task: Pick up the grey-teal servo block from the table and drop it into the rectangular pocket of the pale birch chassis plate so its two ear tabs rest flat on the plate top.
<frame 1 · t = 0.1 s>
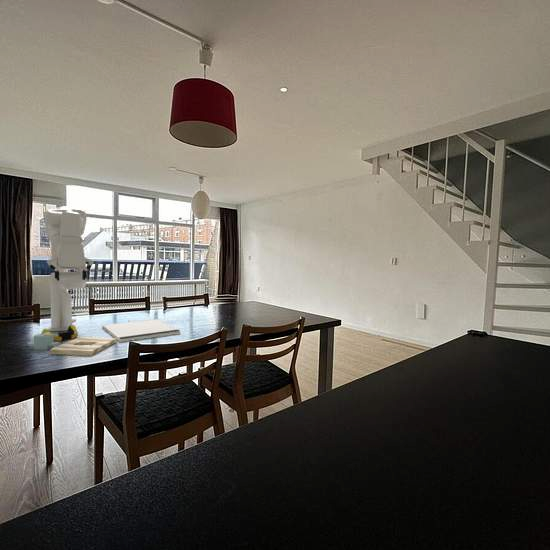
hand: (71, 280, 139), 31 cm above the table, tool pointing down, fingers open, 9 cm apart
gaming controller: (62, 339, 158), on the table
chassis plate: (85, 347, 145), on the table
servo block: (43, 348, 142), on the table
white flat board: (140, 332, 178), on the table
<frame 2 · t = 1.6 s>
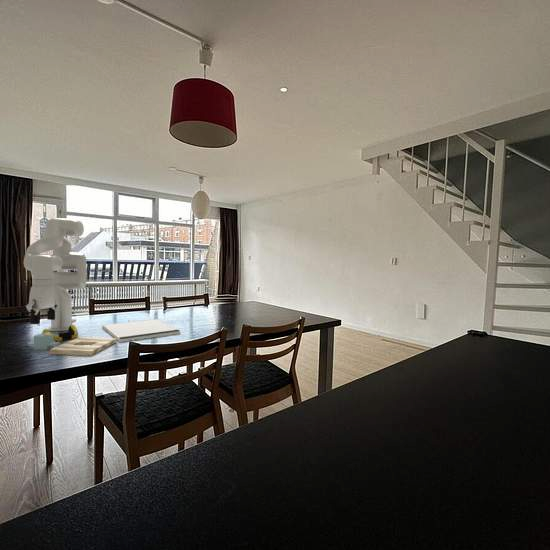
hand: (43, 321, 141), 12 cm above the table, tool pointing down, fingers open, 9 cm apart
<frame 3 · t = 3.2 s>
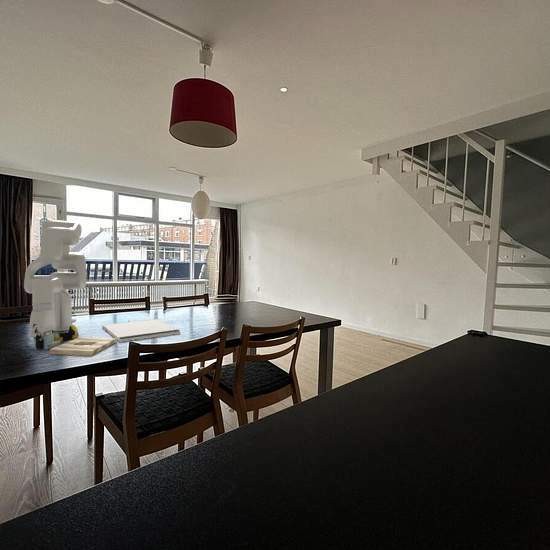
hand: (43, 347, 142), 1 cm above the table, tool pointing down, fingers closed on servo block, 3 cm apart
servo block: (44, 348, 142), on the table, touching gripper
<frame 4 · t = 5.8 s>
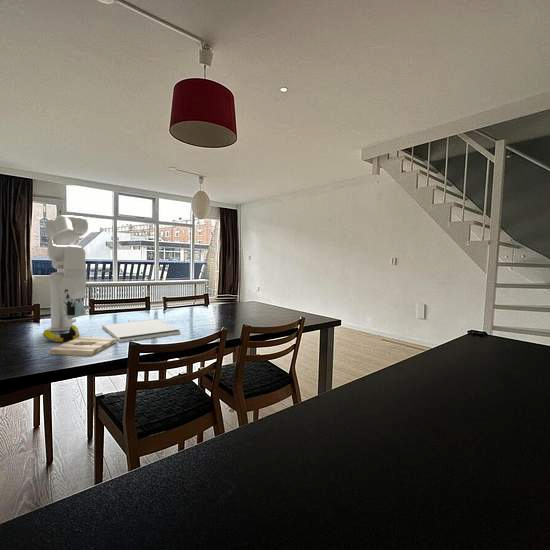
hand: (74, 313, 143), 16 cm above the table, tool pointing down, fingers closed on servo block, 3 cm apart
servo block: (77, 316, 143), point 14 cm above the table, tilted 19°, touching gripper
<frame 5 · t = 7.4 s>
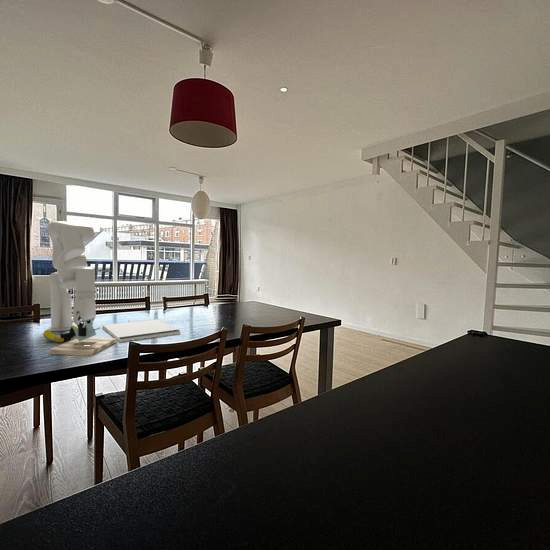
hand: (85, 334, 144), 6 cm above the table, tool pointing down, fingers closed on servo block, 3 cm apart
servo block: (87, 338, 144), point 5 cm above the table, tilted 24°, touching gripper
when the fingers open (3 cm above the table, at t = 8.4 s): servo block drops 2 cm, resting on chassis plate.
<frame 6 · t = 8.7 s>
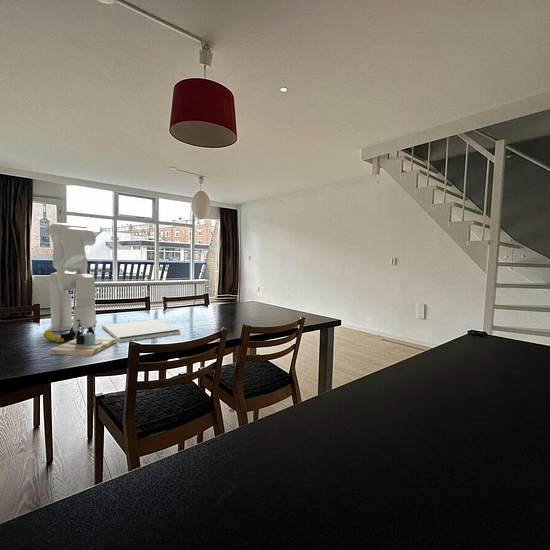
hand: (85, 341, 144), 3 cm above the table, tool pointing down, fingers open, 6 cm apart
servo block: (86, 347, 144), resting on chassis plate
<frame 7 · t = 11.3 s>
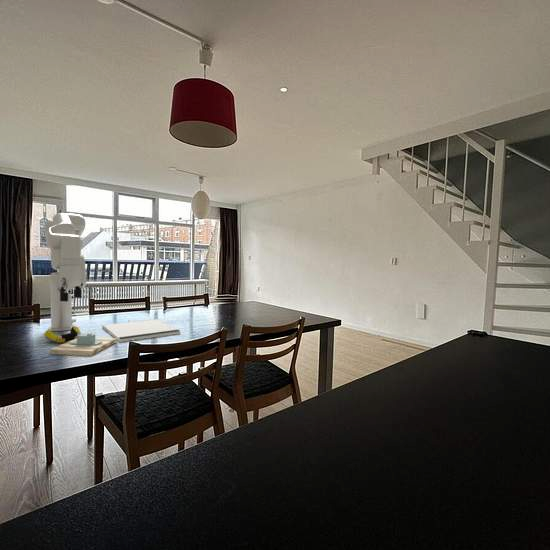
hand: (71, 299, 147), 21 cm above the table, tool pointing down, fingers open, 9 cm apart
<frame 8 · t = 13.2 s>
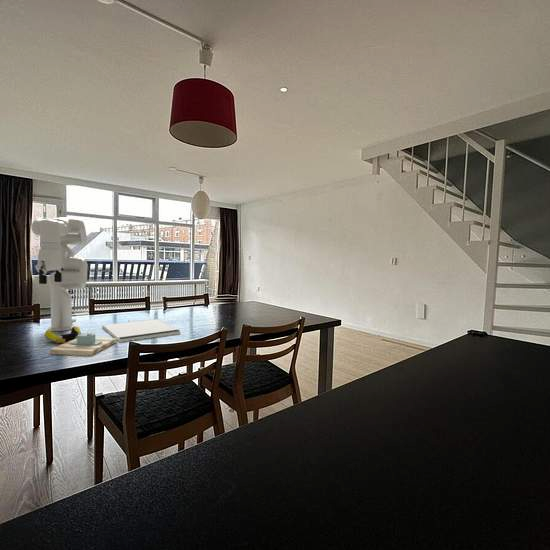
hand: (50, 282, 150), 28 cm above the table, tool pointing down, fingers open, 9 cm apart
at the end: servo block 0.5 cm off-centre on the chassis plate, point 0.0 cm above the chassis plate's base; servo block tilted 0°; the gripper is holding nothing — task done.
